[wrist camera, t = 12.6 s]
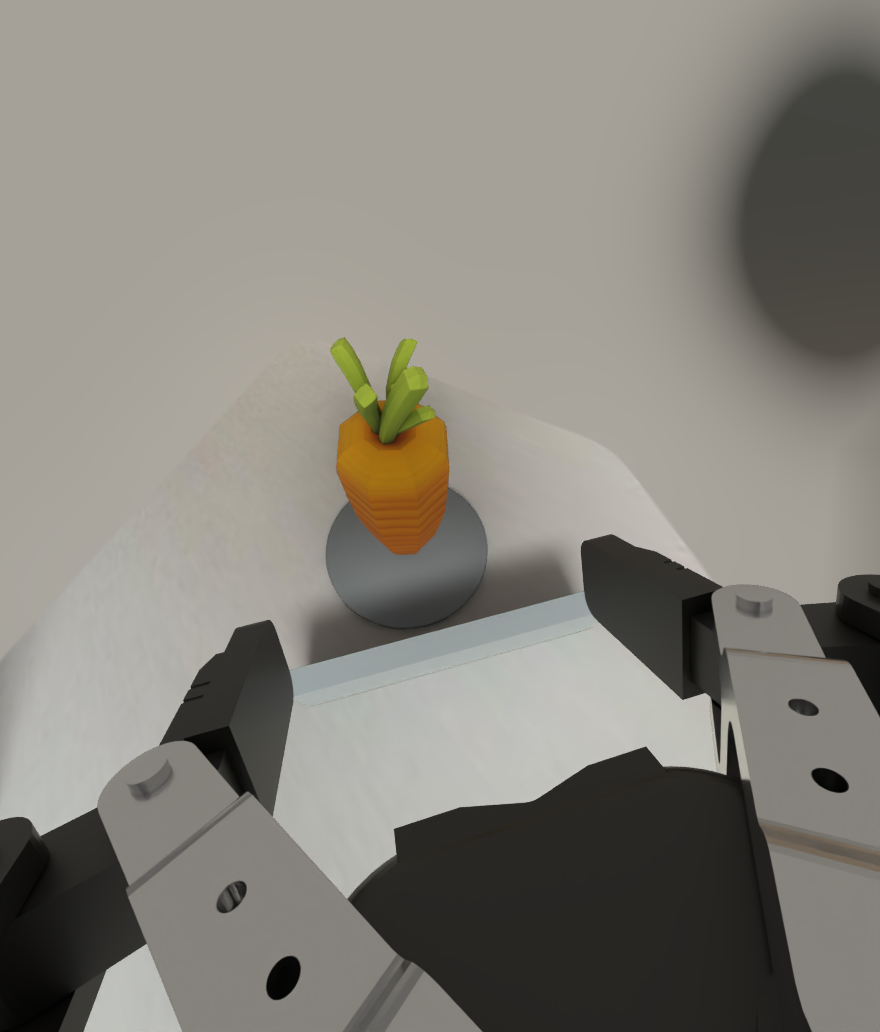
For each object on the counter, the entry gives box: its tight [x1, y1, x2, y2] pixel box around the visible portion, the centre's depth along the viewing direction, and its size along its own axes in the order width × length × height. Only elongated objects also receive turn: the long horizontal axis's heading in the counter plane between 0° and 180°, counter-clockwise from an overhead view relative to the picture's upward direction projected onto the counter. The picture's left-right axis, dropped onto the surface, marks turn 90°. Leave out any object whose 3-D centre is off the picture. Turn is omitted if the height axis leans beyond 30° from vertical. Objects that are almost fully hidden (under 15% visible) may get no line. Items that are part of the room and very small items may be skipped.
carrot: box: [330, 337, 449, 555], centre depth 21 cm, size 5×5×15 cm
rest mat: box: [326, 488, 487, 628], centre depth 28 cm, size 10×10×1 cm
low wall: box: [289, 591, 598, 707], centre depth 23 cm, size 16×1×4 cm, turn 105°
